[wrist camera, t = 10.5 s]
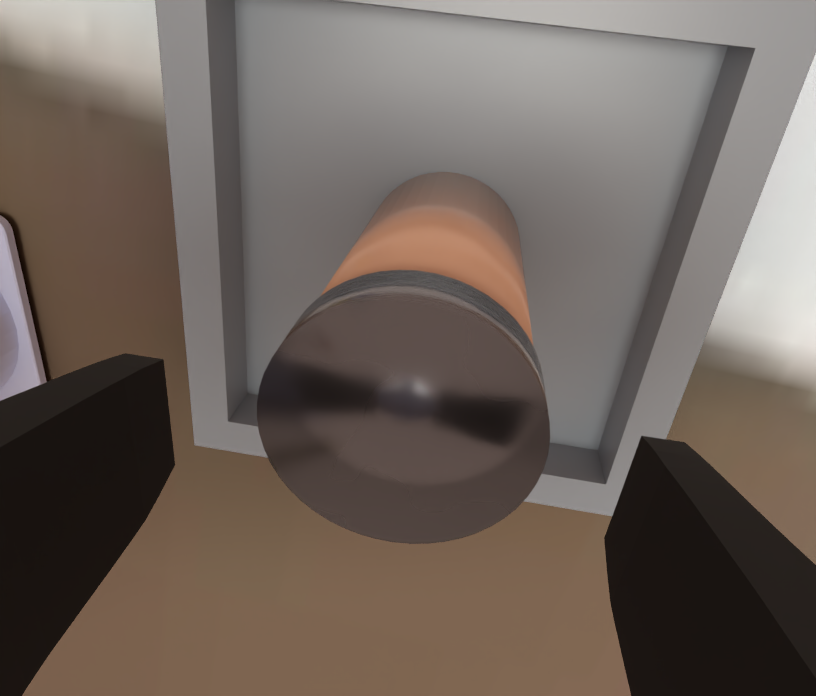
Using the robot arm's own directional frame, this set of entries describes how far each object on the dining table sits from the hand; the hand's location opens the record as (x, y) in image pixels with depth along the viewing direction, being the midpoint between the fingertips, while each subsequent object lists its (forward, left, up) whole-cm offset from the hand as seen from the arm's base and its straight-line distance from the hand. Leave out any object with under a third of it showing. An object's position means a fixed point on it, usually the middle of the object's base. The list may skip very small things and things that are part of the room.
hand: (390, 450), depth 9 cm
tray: (0, 0, -10) cm, 10 cm away
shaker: (0, 0, -9) cm, 9 cm away
